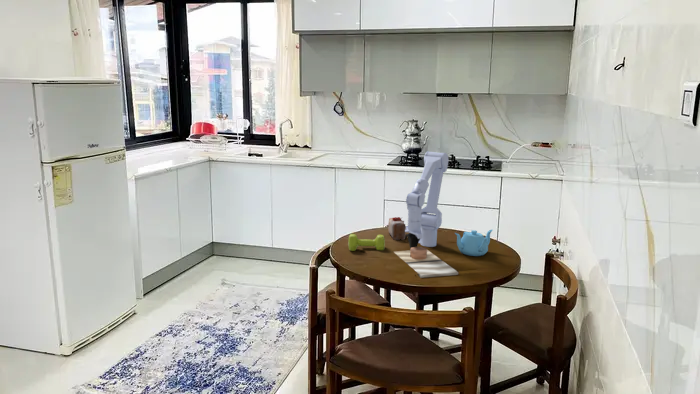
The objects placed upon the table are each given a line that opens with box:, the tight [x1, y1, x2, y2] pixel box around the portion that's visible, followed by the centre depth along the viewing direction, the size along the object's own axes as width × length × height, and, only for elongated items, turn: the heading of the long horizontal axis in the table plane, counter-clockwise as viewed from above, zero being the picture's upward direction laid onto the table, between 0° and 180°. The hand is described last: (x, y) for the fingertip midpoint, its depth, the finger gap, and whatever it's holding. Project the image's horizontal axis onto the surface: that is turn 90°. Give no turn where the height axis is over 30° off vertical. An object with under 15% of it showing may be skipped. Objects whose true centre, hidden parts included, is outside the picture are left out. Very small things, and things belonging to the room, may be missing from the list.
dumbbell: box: [347, 233, 386, 252], centre depth 234 cm, size 16×8×7 cm, turn 88°
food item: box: [387, 216, 407, 241], centre depth 257 cm, size 14×8×10 cm, turn 7°
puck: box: [409, 246, 428, 260], centre depth 222 cm, size 7×7×4 cm
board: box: [393, 249, 459, 279], centre depth 217 cm, size 31×16×1 cm, turn 15°
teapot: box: [454, 229, 493, 257], centre depth 232 cm, size 15×15×10 cm
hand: (413, 250), depth 228 cm, fingers closed
